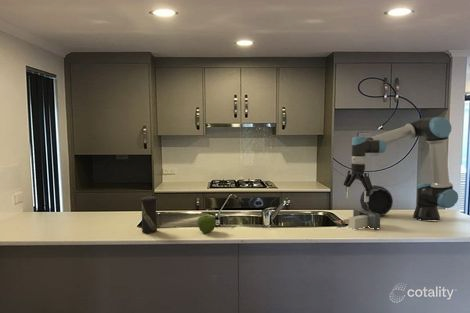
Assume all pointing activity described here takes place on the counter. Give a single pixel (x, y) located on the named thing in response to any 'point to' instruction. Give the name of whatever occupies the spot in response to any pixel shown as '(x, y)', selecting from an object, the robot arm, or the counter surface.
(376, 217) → the housing
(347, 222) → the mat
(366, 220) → the plug
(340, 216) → the counter surface
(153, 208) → the container
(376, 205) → the dark grey thick wheel
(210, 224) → the apple
